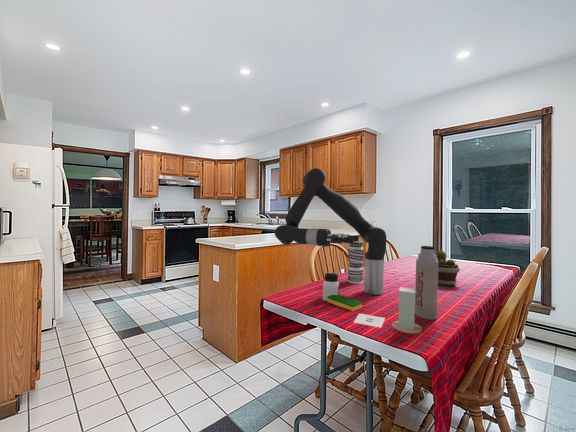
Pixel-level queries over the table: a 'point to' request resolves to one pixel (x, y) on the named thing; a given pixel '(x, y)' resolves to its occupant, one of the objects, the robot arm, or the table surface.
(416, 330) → the cork coaster
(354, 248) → the decorative candle
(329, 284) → the medicine bottle
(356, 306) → the dish sponge
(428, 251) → the thermos bottle
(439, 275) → the flowerpot
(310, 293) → the table surface
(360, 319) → the tile
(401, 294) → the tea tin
